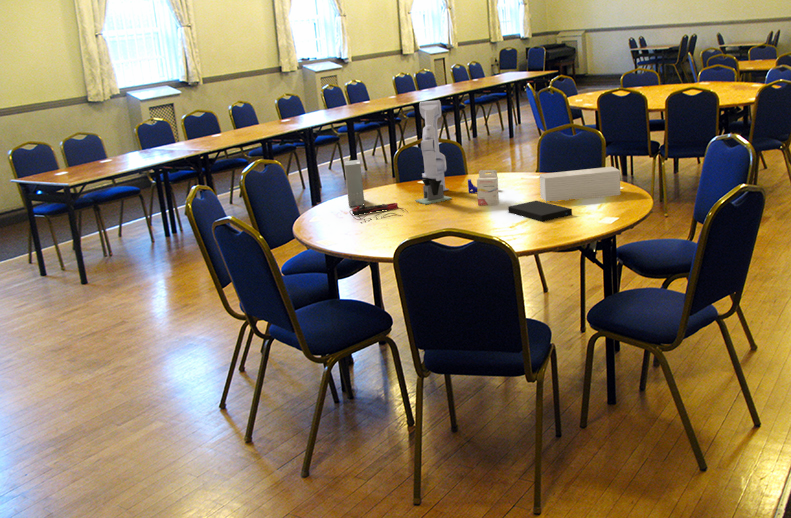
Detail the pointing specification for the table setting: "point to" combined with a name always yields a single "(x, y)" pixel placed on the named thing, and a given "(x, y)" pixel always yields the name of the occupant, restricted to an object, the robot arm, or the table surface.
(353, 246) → the table surface
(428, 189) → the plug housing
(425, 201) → the board
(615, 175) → the long white block
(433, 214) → the table surface
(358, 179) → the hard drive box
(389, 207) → the digital clamp meter
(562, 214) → the external hard drive
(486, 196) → the ink cartridge box
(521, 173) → the table surface
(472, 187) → the cable clip
